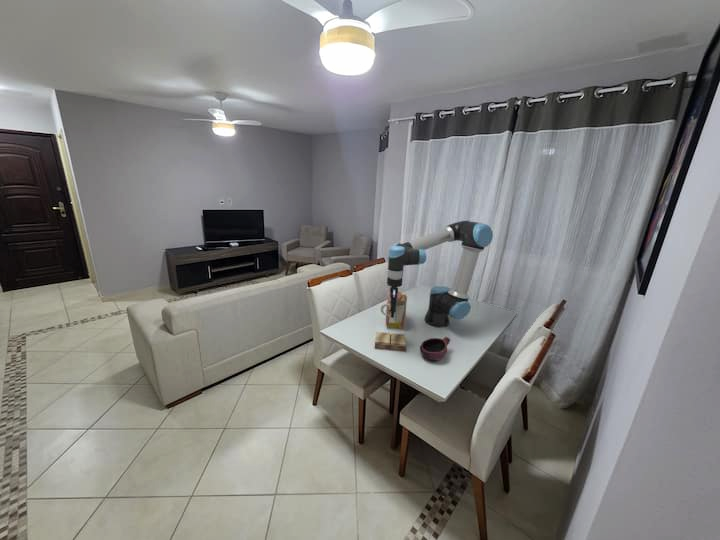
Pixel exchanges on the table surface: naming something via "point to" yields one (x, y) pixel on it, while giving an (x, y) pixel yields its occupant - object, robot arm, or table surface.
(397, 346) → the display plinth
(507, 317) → the table surface
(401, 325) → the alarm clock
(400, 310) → the mug
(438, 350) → the bowl
